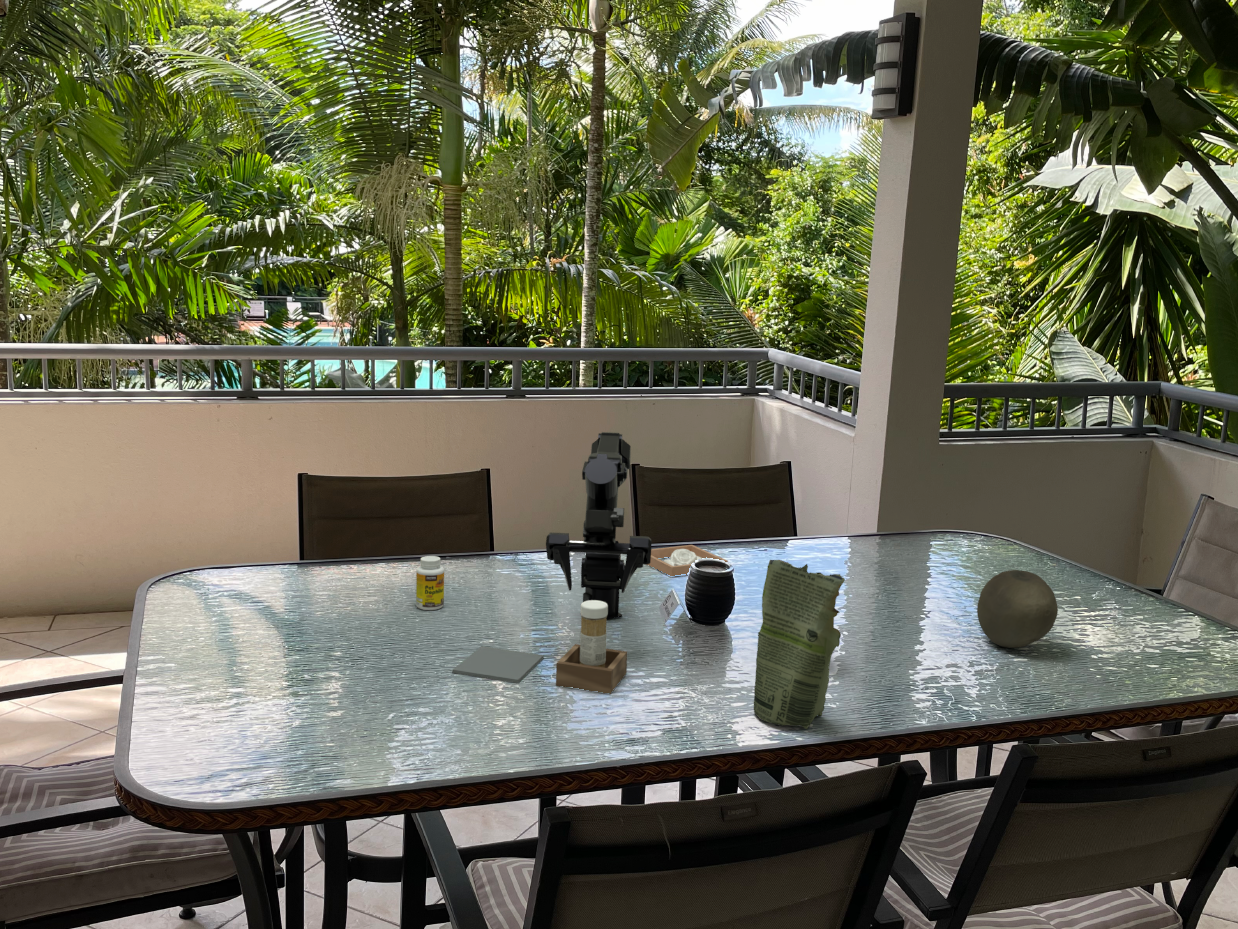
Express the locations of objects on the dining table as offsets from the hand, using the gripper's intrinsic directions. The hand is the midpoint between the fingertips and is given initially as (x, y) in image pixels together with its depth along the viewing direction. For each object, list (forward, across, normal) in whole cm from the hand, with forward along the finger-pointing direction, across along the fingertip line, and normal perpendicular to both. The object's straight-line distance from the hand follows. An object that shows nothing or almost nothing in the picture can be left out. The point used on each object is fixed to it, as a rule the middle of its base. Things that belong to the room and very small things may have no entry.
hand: (596, 590), depth 173 cm
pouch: (+23, +32, -4) cm, 40 cm away
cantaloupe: (-3, +80, +22) cm, 83 cm away
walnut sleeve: (+15, 0, +4) cm, 15 cm away
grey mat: (+12, -16, +7) cm, 21 cm away
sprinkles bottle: (+15, 0, +4) cm, 15 cm away
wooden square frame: (-37, +18, +55) cm, 69 cm away
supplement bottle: (-9, -35, +28) cm, 46 cm away
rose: (-36, +19, +56) cm, 69 cm away
